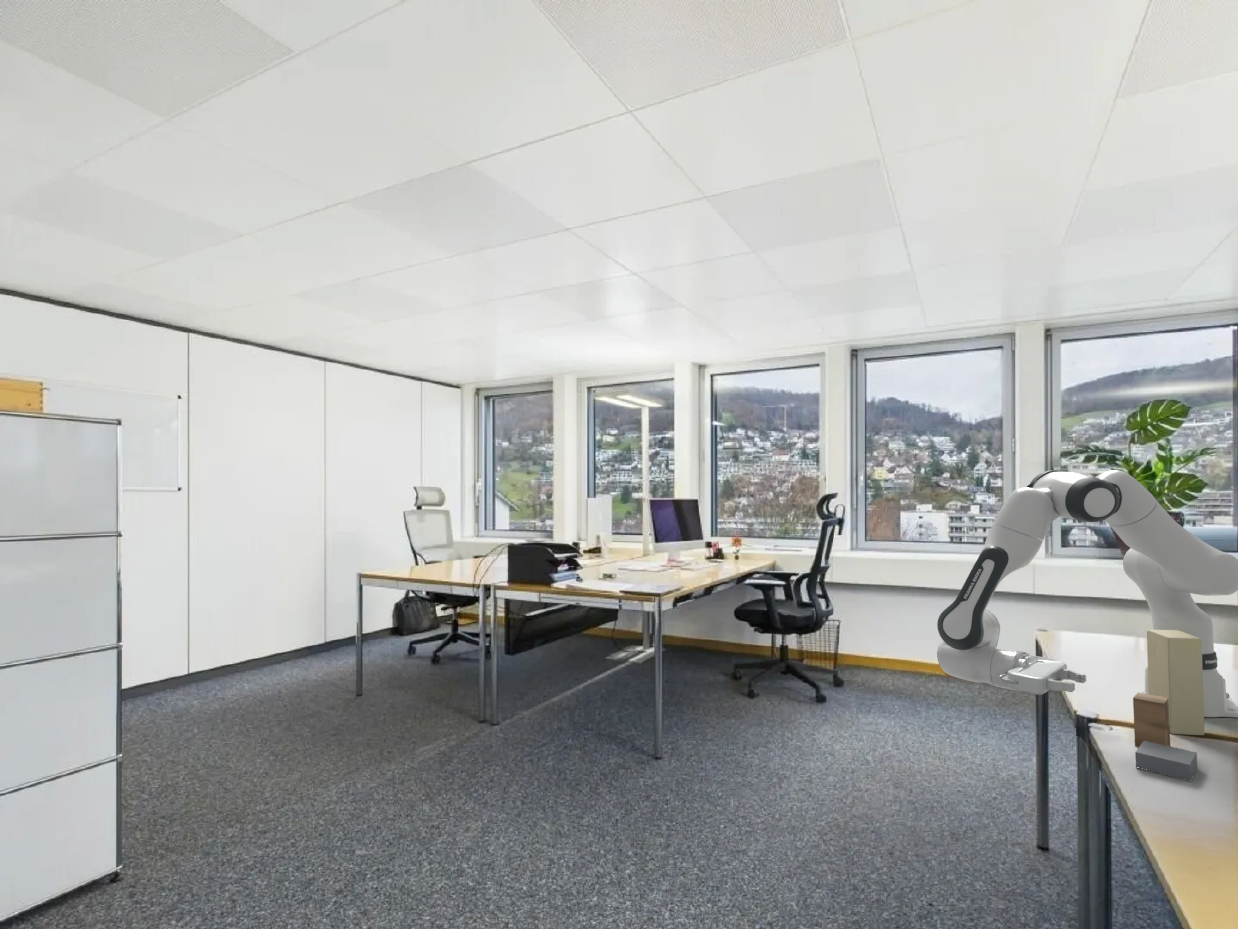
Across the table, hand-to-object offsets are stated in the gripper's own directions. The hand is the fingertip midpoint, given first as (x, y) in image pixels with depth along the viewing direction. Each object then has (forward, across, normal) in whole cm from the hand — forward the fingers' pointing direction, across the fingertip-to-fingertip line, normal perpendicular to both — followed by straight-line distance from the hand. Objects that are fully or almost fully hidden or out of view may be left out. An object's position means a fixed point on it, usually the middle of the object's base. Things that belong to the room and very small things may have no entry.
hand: (1079, 683), depth 144 cm
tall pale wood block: (+14, +16, +10) cm, 24 cm away
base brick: (+16, -11, +10) cm, 22 cm away
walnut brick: (+12, 0, +10) cm, 16 cm away
